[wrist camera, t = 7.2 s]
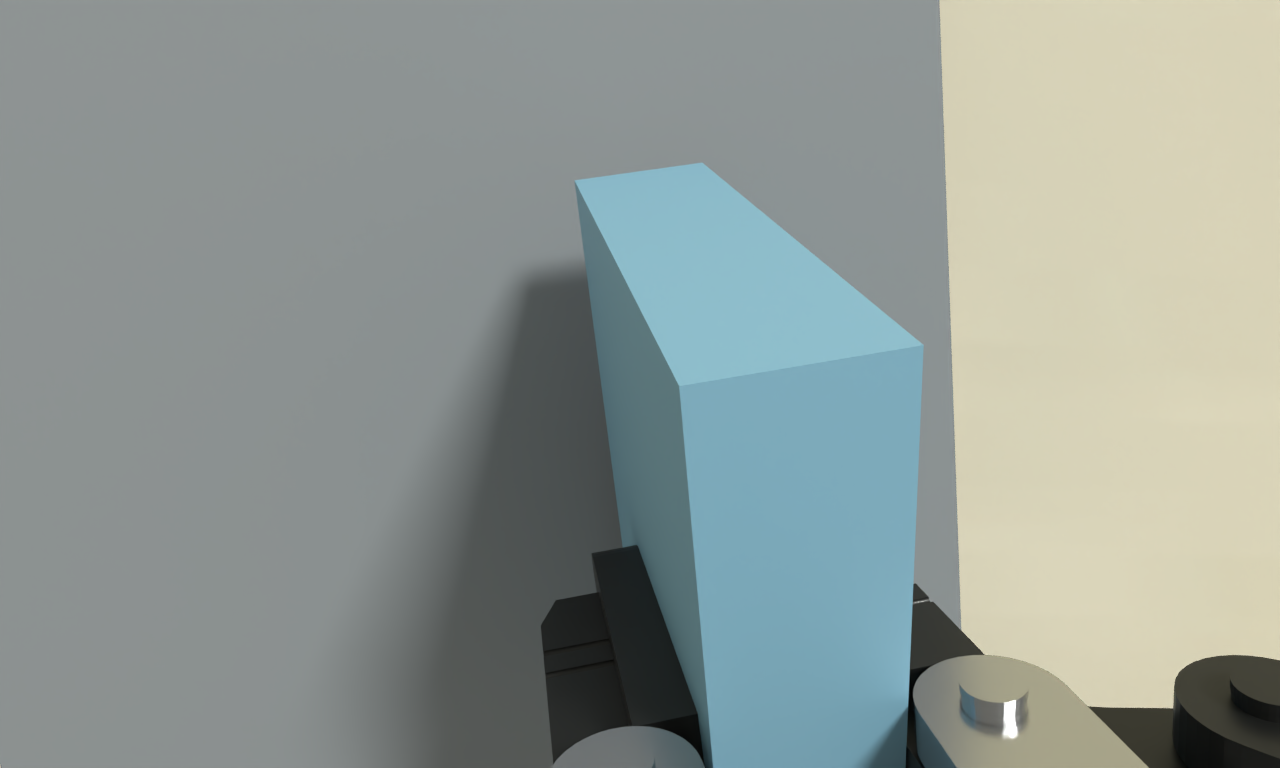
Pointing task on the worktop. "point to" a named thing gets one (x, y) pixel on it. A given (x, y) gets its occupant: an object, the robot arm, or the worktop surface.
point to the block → (759, 467)
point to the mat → (381, 343)
